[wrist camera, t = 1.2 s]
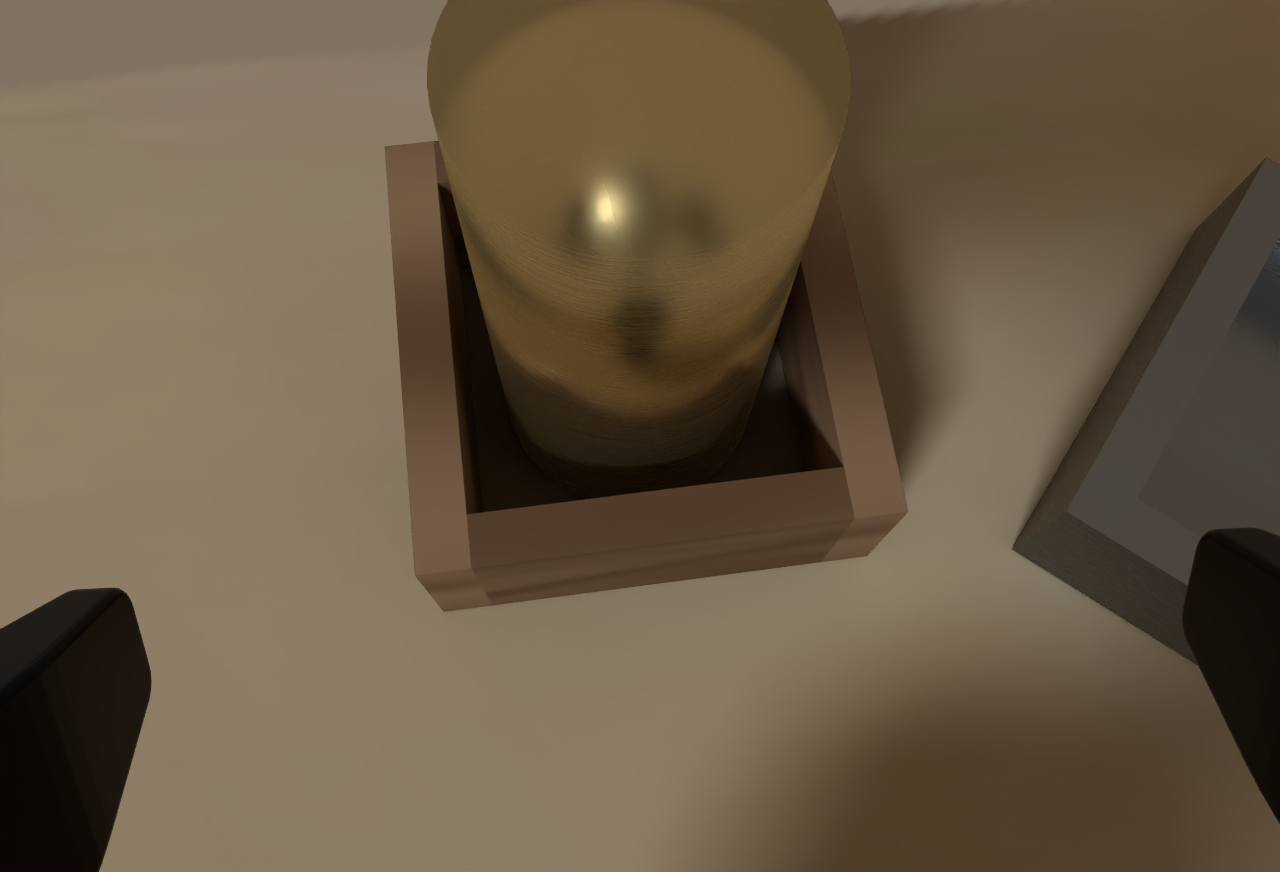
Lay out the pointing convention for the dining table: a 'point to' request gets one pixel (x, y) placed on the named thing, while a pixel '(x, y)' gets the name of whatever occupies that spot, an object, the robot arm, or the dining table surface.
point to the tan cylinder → (635, 213)
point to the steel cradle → (1178, 427)
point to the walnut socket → (647, 521)
